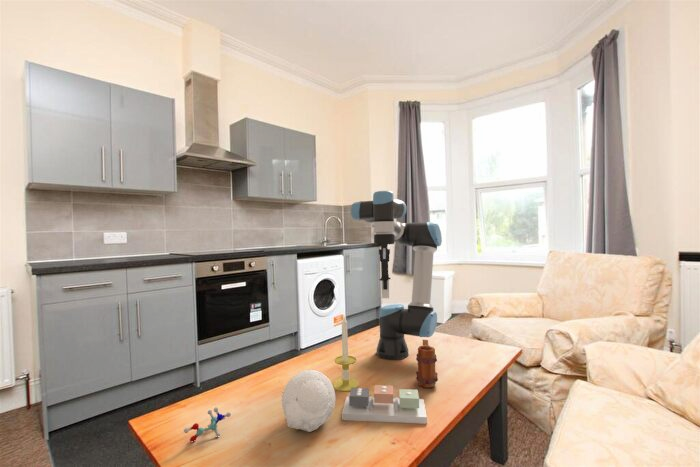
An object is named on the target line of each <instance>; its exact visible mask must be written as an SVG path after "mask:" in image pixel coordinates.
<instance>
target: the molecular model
mask: <svg viewBox="0 0 700 467" xmlns="http://www.w3.org/2000/svg"><path fill="white" fill-rule="evenodd" d="M213 412H214V413H216V415H217V416H214V415H213ZM207 414H208V415H210V418H211V419H210V423H209V424H208V425H207V427H208V428H207V427H206V428H203V427H200V426H199V423H196V422H195V423H194V424H193V425H192V426H191V427H186V428H184V429H183V432H184V434H188V433H189V431H192V430H195V431H196V433H194V435H192V436H191V437H190V438H189V441H190V442H191V441H194V440H196V441H197V438H198V437H199V436H201V435H203V434H204V432H206V431H208V430H210V431H214V433H215V437H216V436H217V437H216V438H219V437H218V436H220V437H221V432H219V430H218V429H217V428H218V423H219V422H220V421H223V420H225V418H226V417H227V418H230V416H231V415H232V414H231V412H226V414H221V413H220V412H219V408H218V407H214V408H213V410H212V409H209V410H207Z"/></svg>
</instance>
